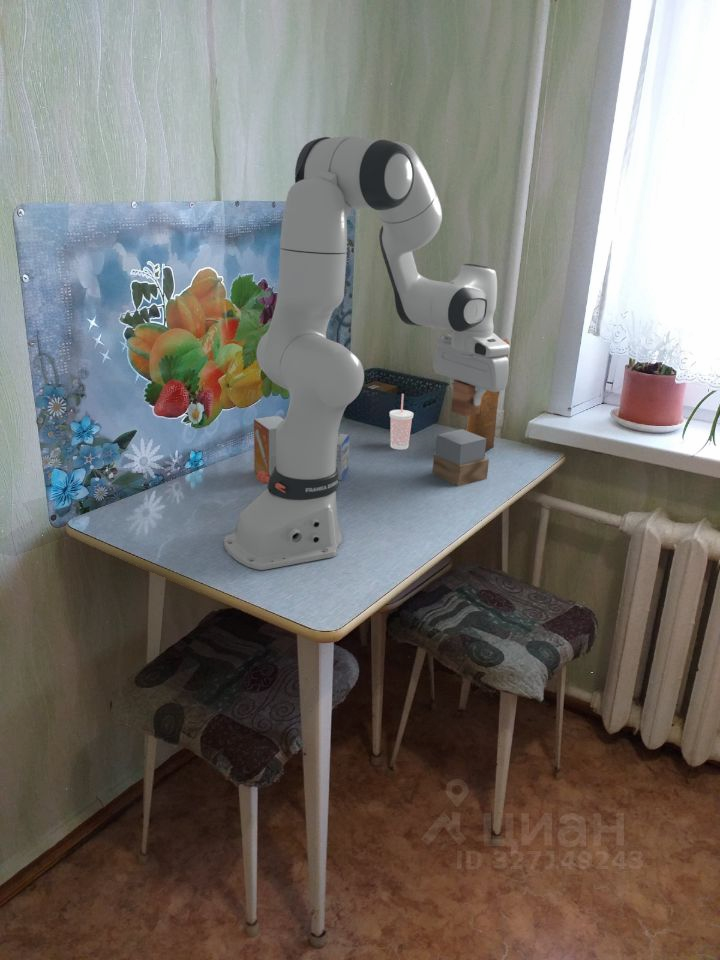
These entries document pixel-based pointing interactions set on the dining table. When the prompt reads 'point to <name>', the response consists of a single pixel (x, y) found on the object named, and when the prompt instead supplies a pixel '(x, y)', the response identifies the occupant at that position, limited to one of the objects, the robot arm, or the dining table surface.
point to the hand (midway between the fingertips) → (466, 401)
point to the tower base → (460, 471)
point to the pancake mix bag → (485, 417)
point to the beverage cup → (400, 427)
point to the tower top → (460, 447)
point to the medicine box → (342, 454)
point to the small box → (265, 443)
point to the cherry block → (464, 399)
